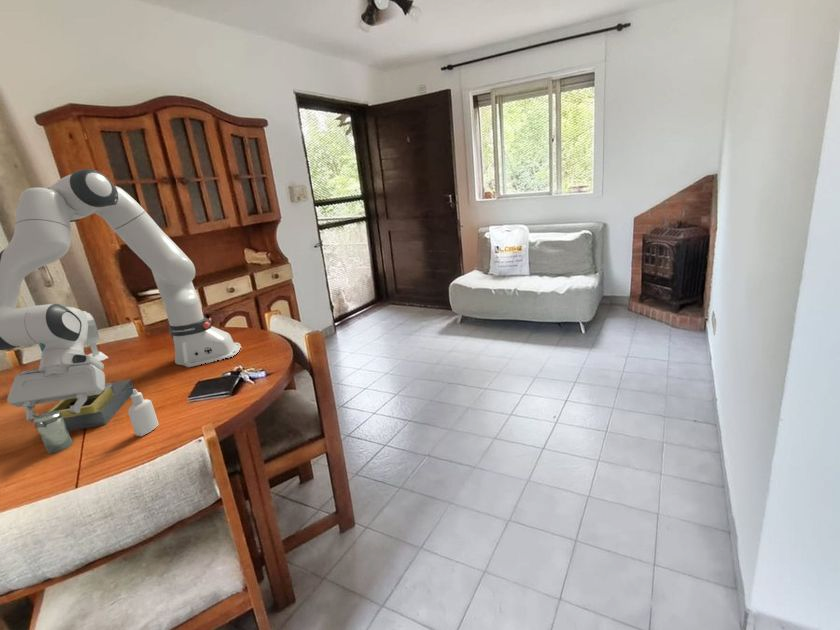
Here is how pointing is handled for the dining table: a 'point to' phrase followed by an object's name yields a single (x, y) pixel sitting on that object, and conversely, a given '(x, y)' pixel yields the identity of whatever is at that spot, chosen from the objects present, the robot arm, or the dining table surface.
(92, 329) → the white angular piece
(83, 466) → the dining table surface
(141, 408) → the eye dropper bottle
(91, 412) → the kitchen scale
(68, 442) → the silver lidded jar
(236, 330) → the dining table surface
